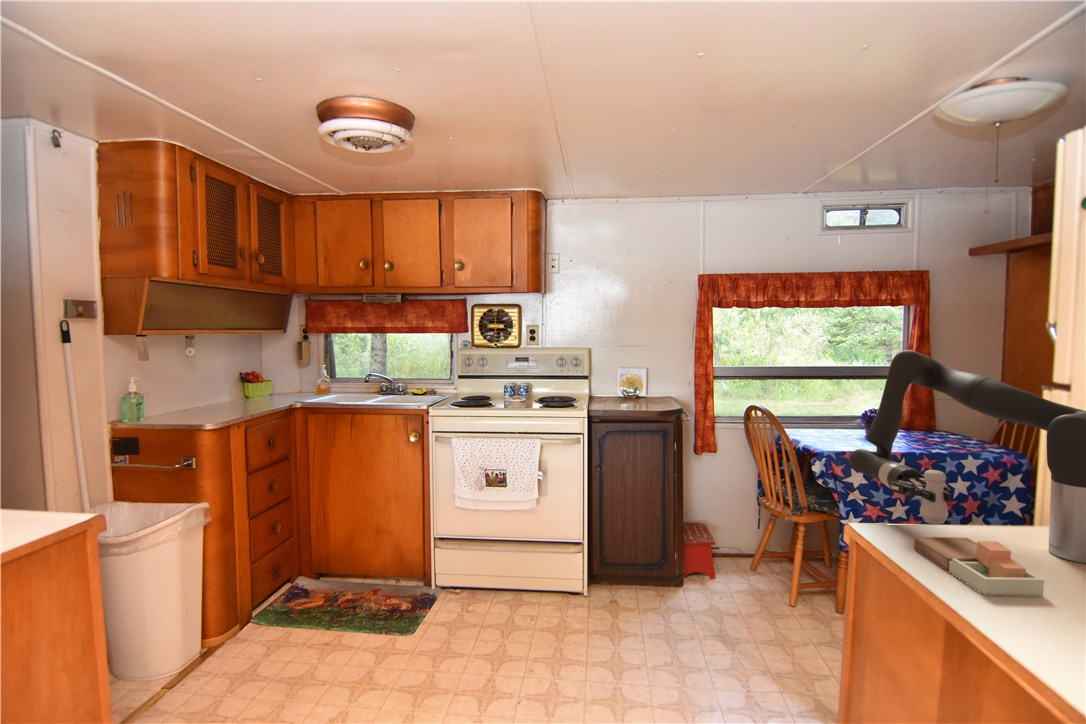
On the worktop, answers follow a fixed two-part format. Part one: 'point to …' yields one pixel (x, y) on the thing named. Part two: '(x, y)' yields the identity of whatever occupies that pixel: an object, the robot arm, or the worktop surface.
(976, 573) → the tray
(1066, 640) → the worktop surface
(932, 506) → the salt shaker
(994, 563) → the peach cube
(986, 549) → the light orange cube
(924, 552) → the board
